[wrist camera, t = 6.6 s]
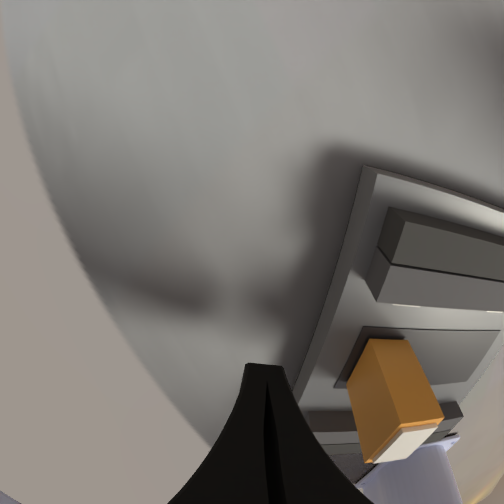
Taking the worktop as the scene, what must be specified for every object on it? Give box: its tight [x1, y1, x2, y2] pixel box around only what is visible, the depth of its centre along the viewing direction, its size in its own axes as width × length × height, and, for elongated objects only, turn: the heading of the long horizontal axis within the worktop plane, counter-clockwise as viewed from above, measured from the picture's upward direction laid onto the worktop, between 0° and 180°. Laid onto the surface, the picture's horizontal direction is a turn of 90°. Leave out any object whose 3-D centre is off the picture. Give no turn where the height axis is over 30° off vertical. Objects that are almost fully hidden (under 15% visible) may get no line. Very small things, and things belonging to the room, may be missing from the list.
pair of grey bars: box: [305, 206, 504, 455], centre depth 12 cm, size 14×11×1 cm
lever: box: [346, 339, 445, 464], centre depth 10 cm, size 3×2×5 cm, turn 172°
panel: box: [292, 165, 504, 418], centre depth 13 cm, size 16×12×2 cm
